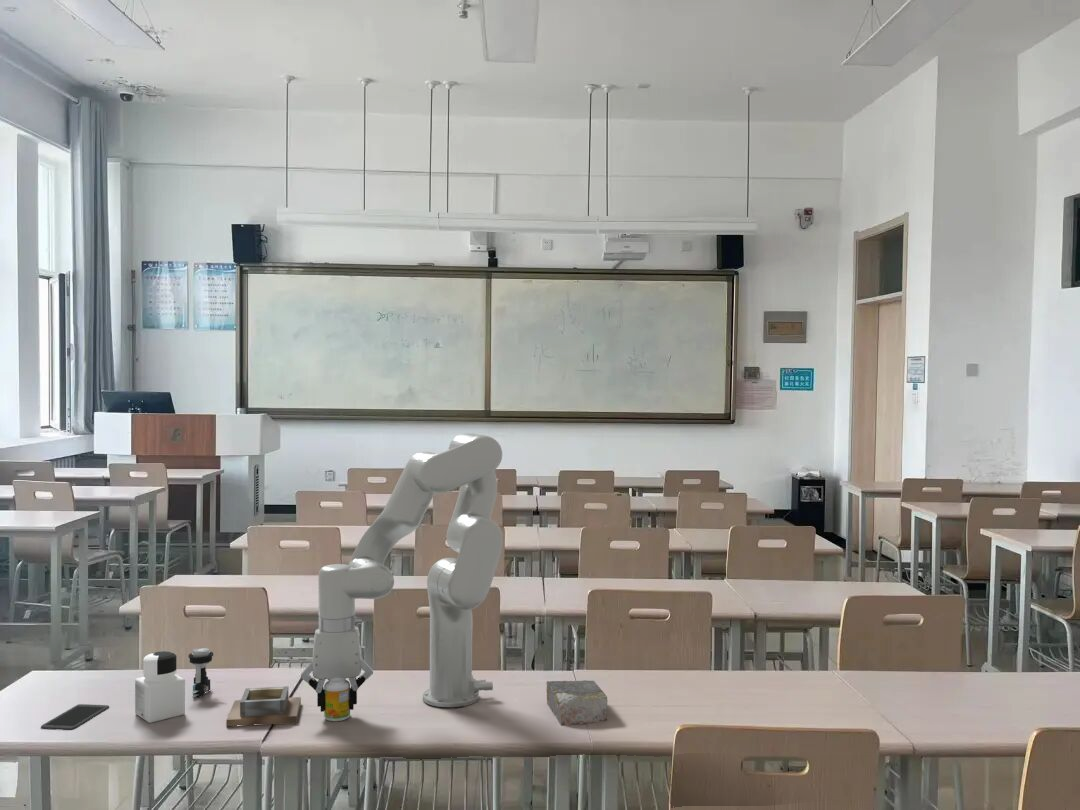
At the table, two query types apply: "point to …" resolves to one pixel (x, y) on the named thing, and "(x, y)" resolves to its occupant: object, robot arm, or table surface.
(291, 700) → the collar board
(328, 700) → the supplement bottle
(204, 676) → the push button
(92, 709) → the cell phone
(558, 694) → the geological specimen
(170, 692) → the container
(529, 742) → the table surface
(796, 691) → the table surface
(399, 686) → the table surface
